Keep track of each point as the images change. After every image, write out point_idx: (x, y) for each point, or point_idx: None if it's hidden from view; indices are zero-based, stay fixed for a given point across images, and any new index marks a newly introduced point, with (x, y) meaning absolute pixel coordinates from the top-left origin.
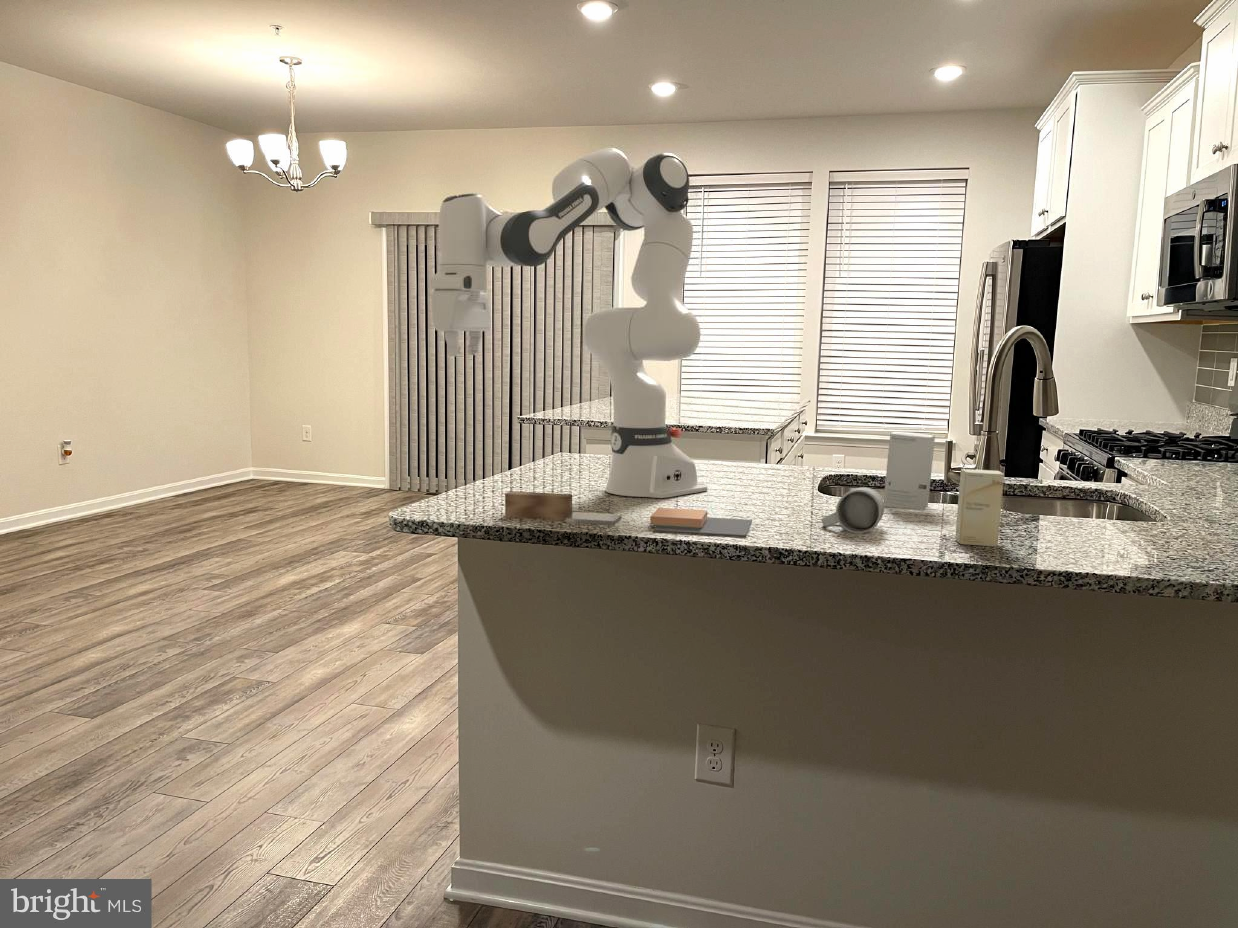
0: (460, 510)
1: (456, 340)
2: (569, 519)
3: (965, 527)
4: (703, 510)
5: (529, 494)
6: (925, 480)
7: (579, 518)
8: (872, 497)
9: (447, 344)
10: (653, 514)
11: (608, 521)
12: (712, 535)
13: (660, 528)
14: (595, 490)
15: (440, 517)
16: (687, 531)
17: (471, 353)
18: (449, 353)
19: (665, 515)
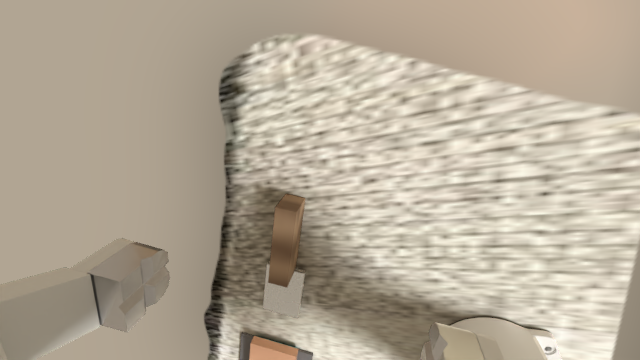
0: (319, 126)
1: (21, 352)
2: (266, 267)
3: None
4: None
5: (276, 238)
6: None
7: (268, 277)
8: None
9: (45, 274)
10: (259, 346)
11: (263, 302)
12: None
13: (247, 340)
14: (500, 304)
15: (266, 107)
16: (240, 357)
17: (432, 345)
18: (114, 247)
19: (257, 355)
